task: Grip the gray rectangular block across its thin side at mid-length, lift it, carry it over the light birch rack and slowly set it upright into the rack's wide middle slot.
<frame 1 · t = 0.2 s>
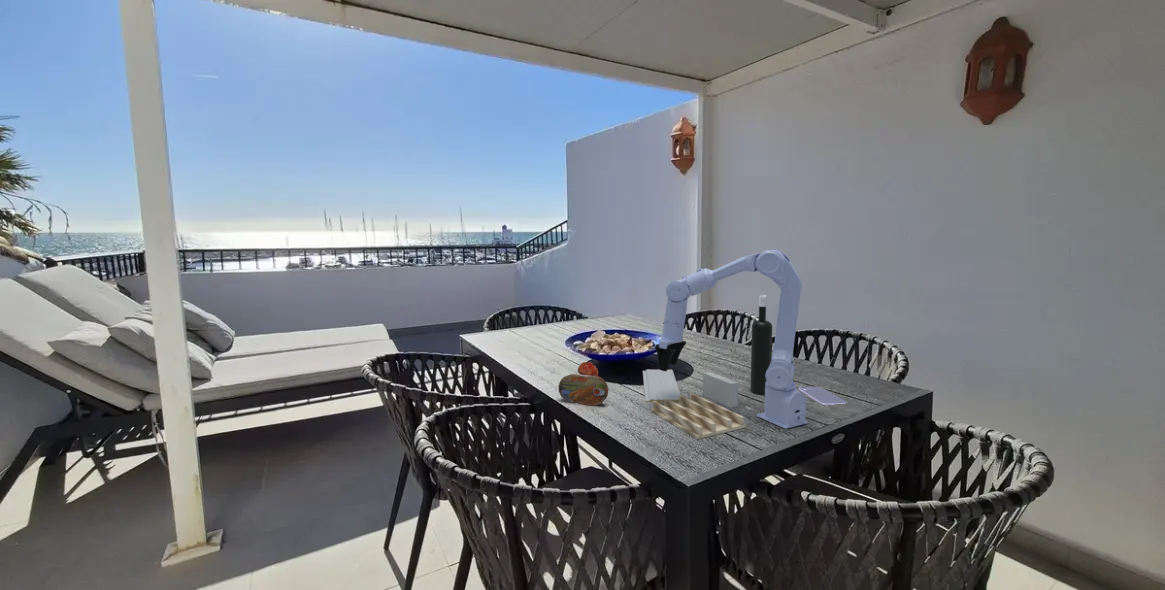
hand: (667, 367, 131), 10 cm above the table, tool pointing down, fingers open, 7 cm apart
tin: (583, 403, 133), on the table
wine bottle: (760, 392, 139), on the table
rack: (695, 419, 119), on the table
baseboard molding: (658, 388, 147), on the table
mobile phone: (821, 397, 134), on the table
gray rectangular block: (719, 400, 132), on the table
pomegranate: (587, 383, 152), on the table
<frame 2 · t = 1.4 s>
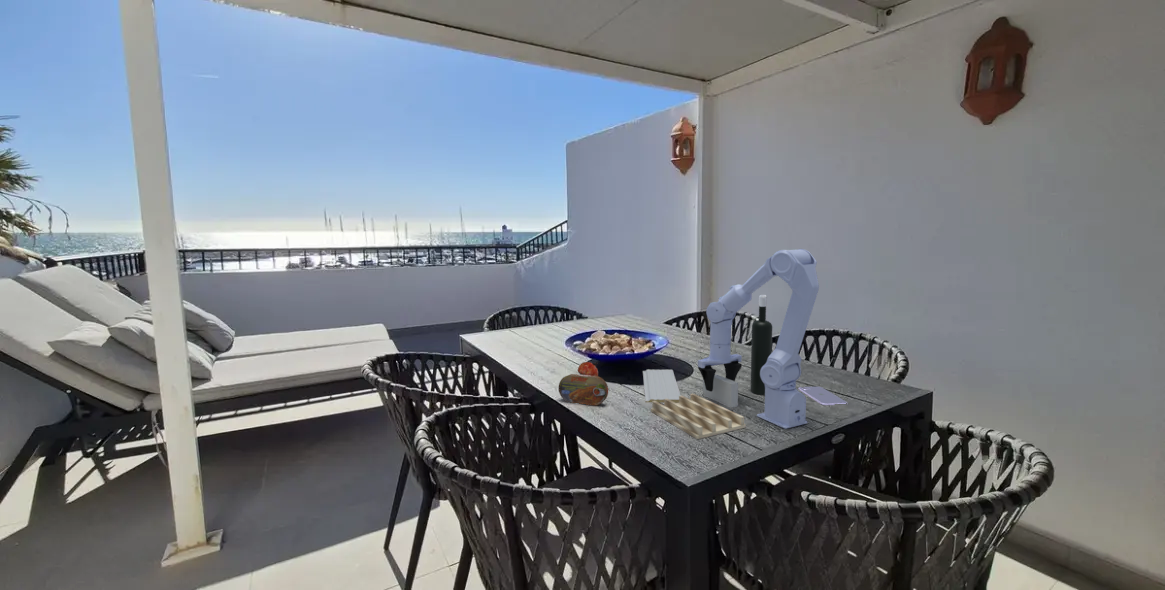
hand: (719, 388, 132), 4 cm above the table, tool pointing down, fingers open, 7 cm apart
nothing on the table moved.
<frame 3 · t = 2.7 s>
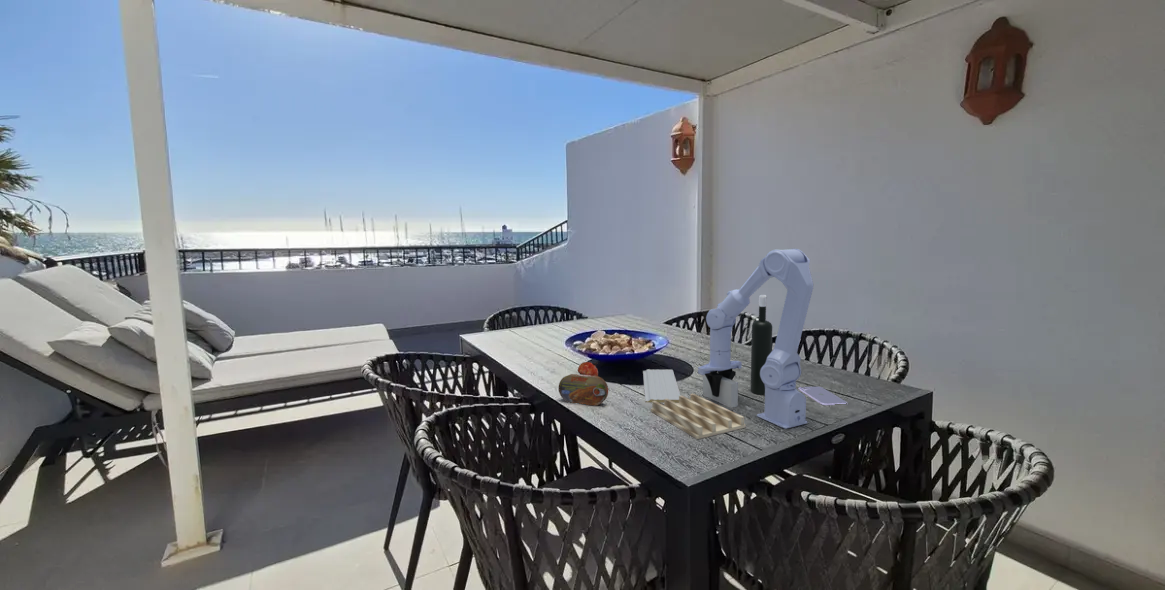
hand: (719, 395, 132), 2 cm above the table, tool pointing down, fingers closed on gray rectangular block, 2 cm apart
gray rectangular block: (719, 400, 132), on the table, touching gripper
everything else where it was.
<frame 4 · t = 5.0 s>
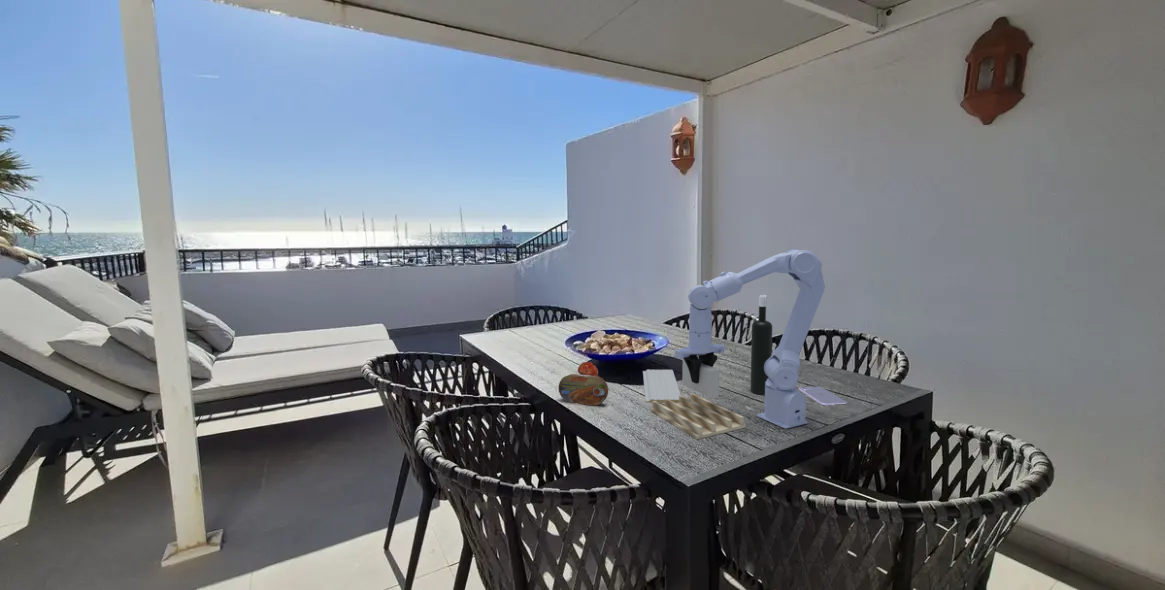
hand: (699, 381, 120), 9 cm above the table, tool pointing down, fingers closed on gray rectangular block, 2 cm apart
gray rectangular block: (699, 390, 120), point 7 cm above the table, touching gripper
everything else where it was.
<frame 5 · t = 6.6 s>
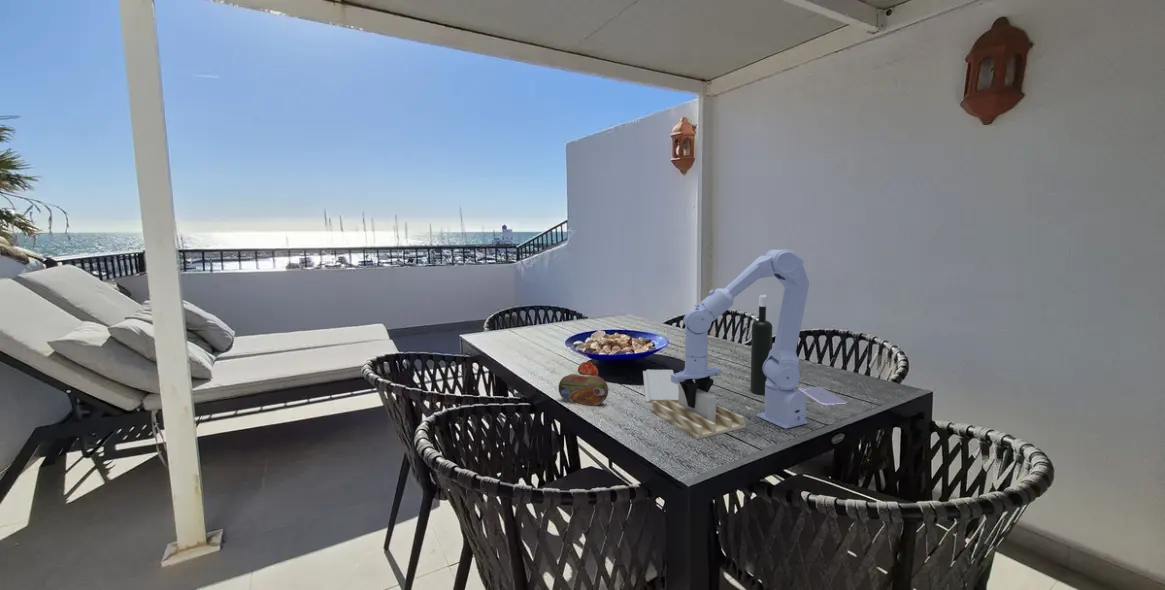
hand: (695, 405, 118), 4 cm above the table, tool pointing down, fingers closed on gray rectangular block, 2 cm apart
gray rectangular block: (696, 416, 119), point 1 cm above the table, touching gripper
everything else where it was.
when the fingers open (3 cm above the table, at t = 7.4 s): gray rectangular block stays where it is, resting on rack.
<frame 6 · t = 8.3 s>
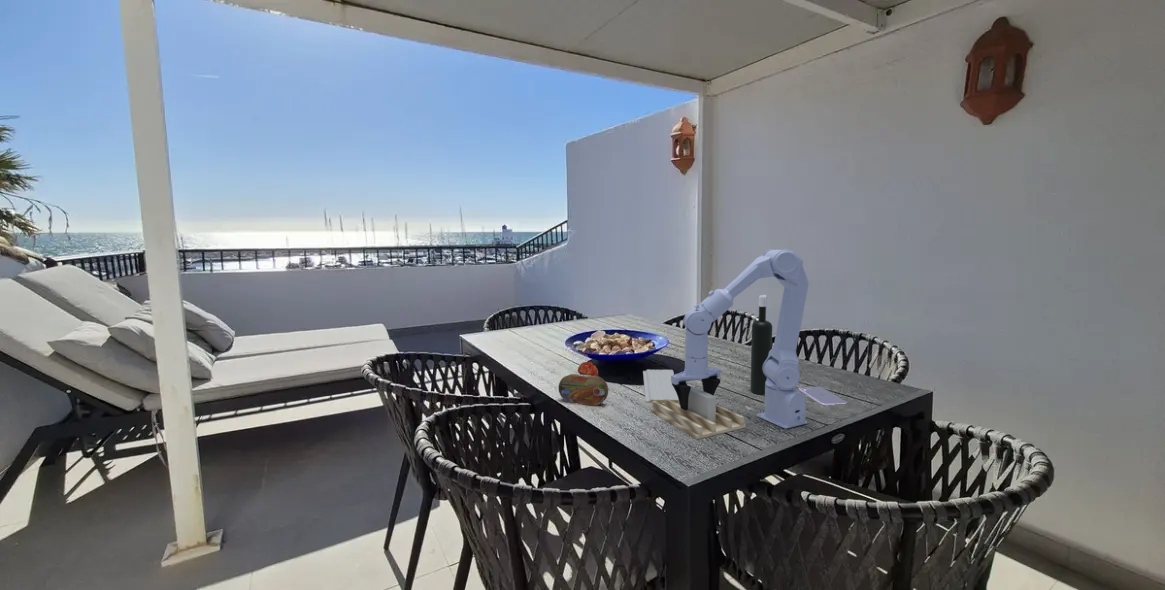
hand: (695, 406, 118), 3 cm above the table, tool pointing down, fingers open, 7 cm apart
gray rectangular block: (696, 416, 119), point 1 cm above the table, touching rack
everything else where it was.
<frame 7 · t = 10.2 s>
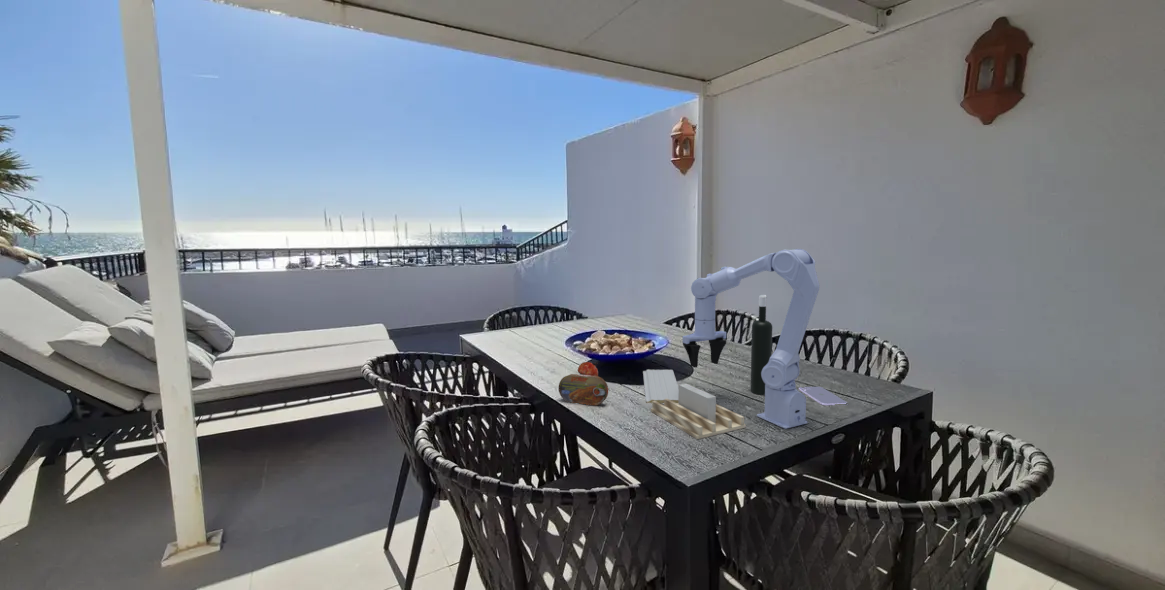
hand: (704, 364, 132), 10 cm above the table, tool pointing down, fingers open, 7 cm apart
nothing on the table moved.
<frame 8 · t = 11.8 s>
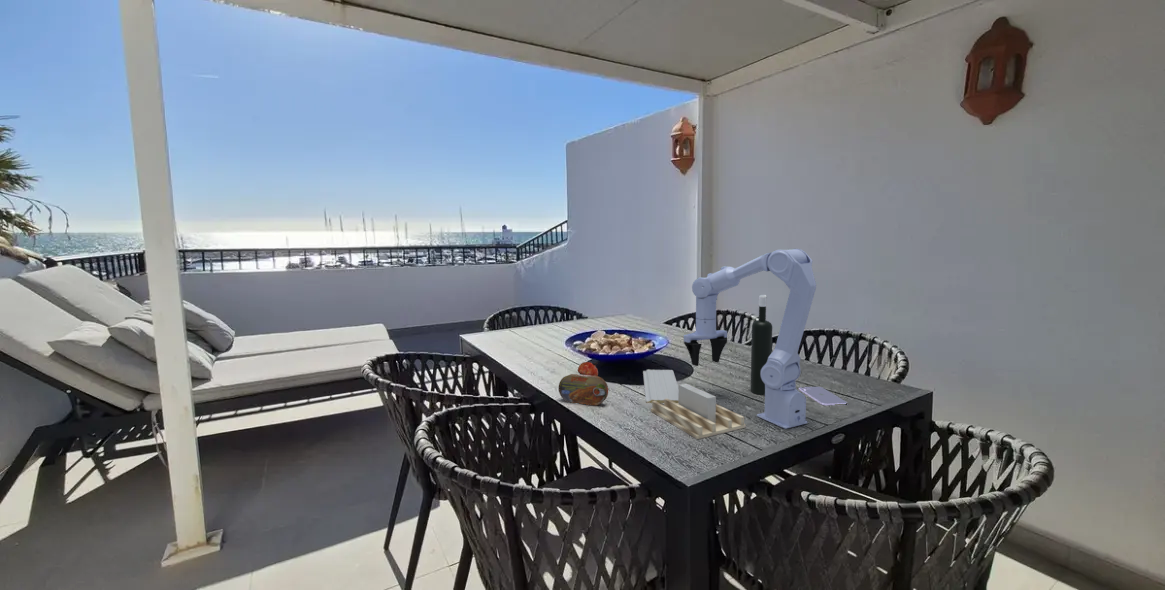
hand: (705, 363, 134), 10 cm above the table, tool pointing down, fingers open, 7 cm apart
nothing on the table moved.
at the end: gray rectangular block 0.2 cm off-centre on the rack, point 0.8 cm above the rack's base; gray rectangular block tilted 0°; the gripper is holding nothing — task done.
